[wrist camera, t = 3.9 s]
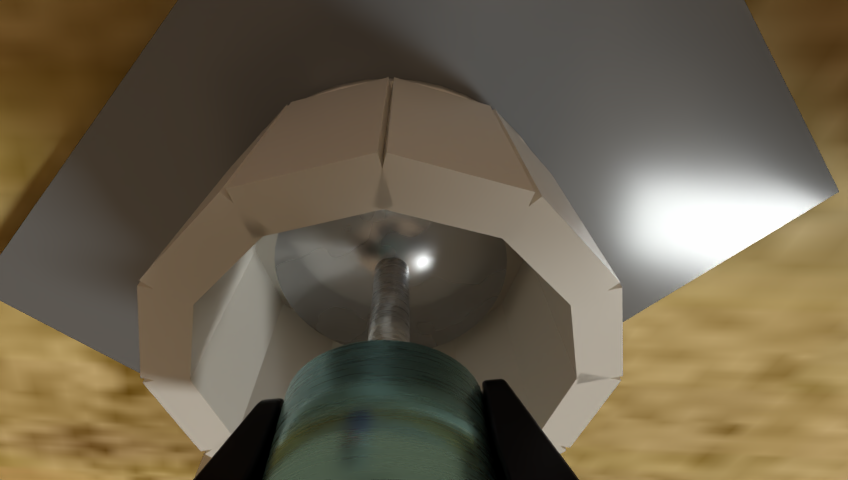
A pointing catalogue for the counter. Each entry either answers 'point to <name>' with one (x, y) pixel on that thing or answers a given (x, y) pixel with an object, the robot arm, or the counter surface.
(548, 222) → the thick white ring cup
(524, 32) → the plate
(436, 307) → the wine glass
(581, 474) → the counter surface
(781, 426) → the counter surface
